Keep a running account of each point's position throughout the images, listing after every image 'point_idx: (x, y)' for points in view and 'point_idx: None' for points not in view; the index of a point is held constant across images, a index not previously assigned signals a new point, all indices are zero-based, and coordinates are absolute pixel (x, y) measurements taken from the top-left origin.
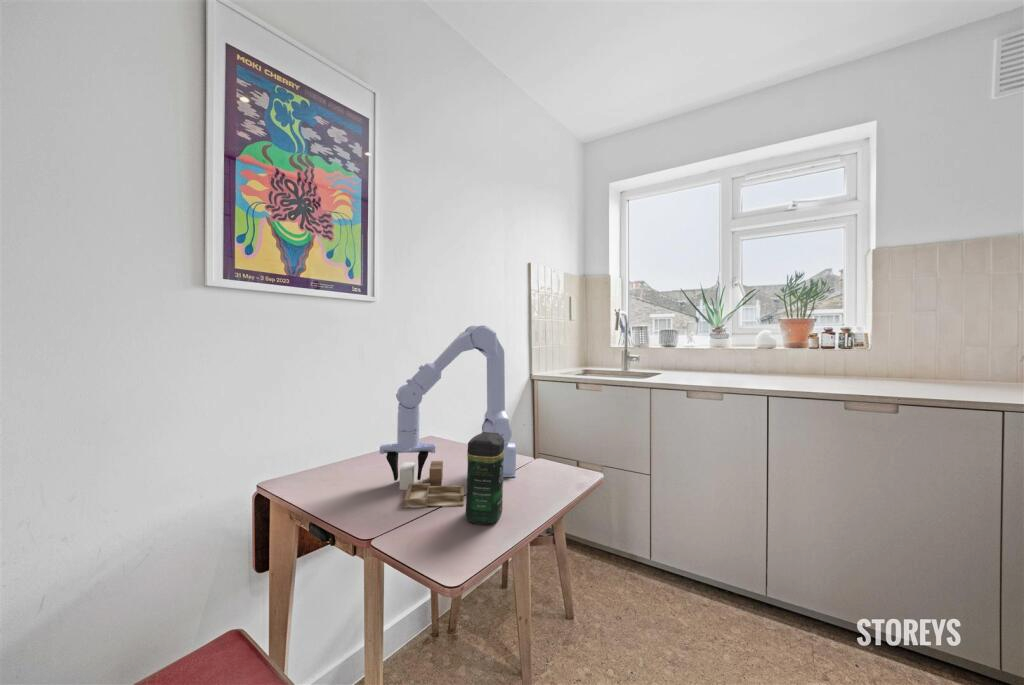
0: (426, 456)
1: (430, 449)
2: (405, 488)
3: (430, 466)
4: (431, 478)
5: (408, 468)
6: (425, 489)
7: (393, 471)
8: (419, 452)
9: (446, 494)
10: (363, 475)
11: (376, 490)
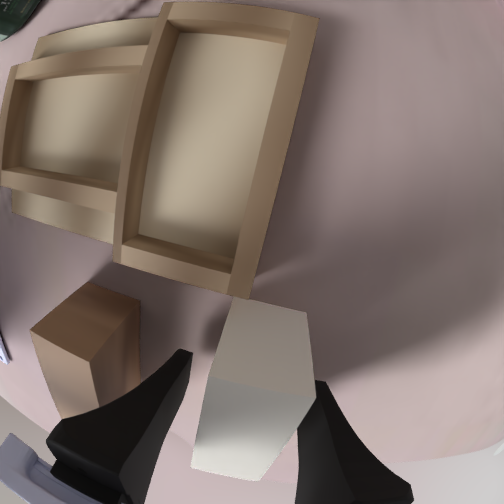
0: (51, 434)
1: (35, 476)
2: (272, 307)
3: (94, 393)
4: (108, 320)
5: (237, 420)
6: (153, 239)
7: (342, 420)
8: (117, 502)
9: (56, 67)
10: (395, 450)
11: (414, 331)
